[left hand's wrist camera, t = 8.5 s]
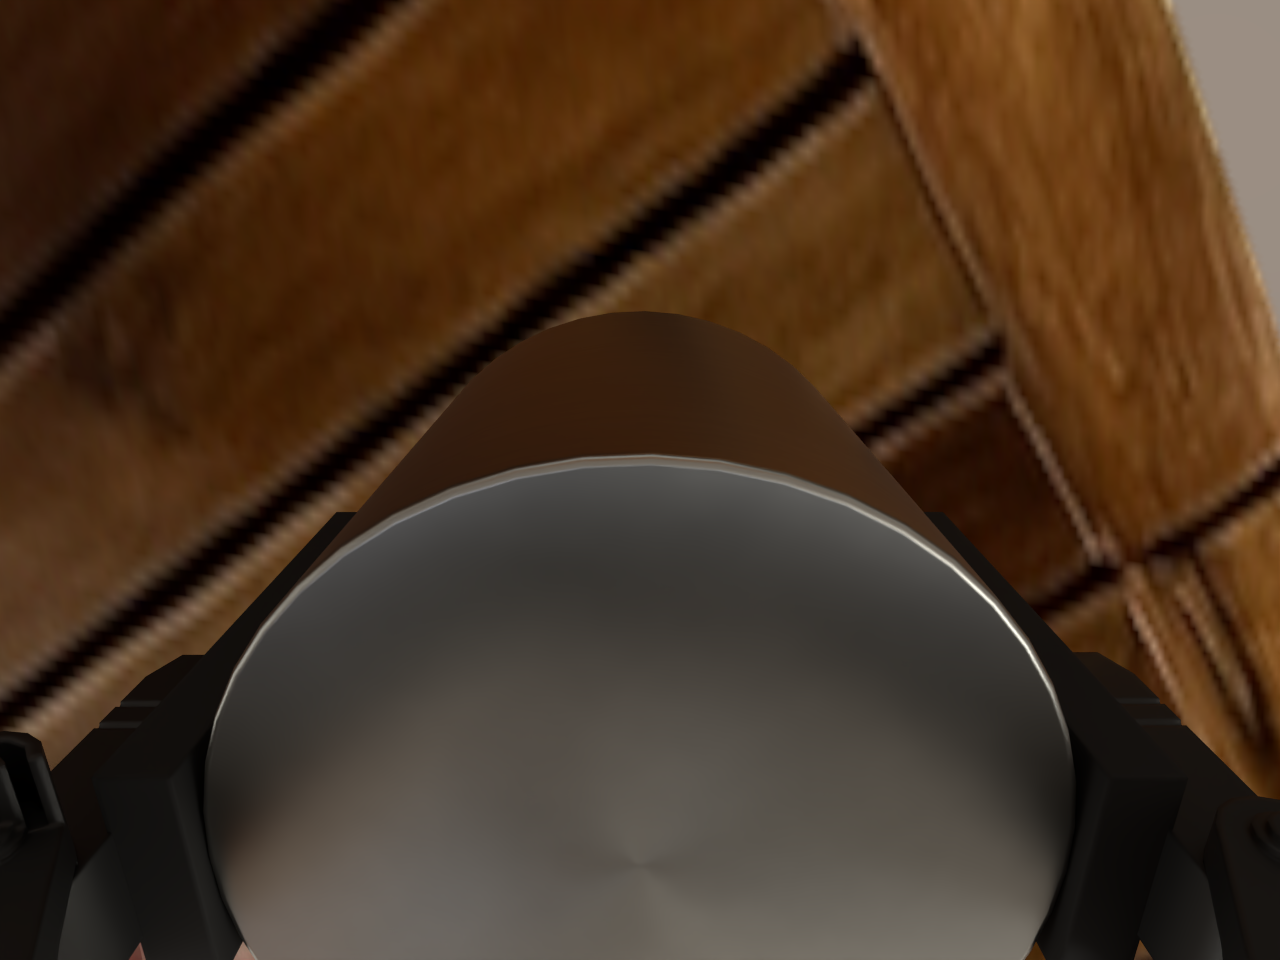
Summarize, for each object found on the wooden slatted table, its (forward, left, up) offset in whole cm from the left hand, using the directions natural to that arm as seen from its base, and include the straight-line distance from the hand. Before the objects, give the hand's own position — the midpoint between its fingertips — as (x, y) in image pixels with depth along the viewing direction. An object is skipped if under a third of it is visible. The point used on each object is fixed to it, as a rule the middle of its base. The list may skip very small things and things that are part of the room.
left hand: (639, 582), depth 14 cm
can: (0, 0, -2) cm, 2 cm away
